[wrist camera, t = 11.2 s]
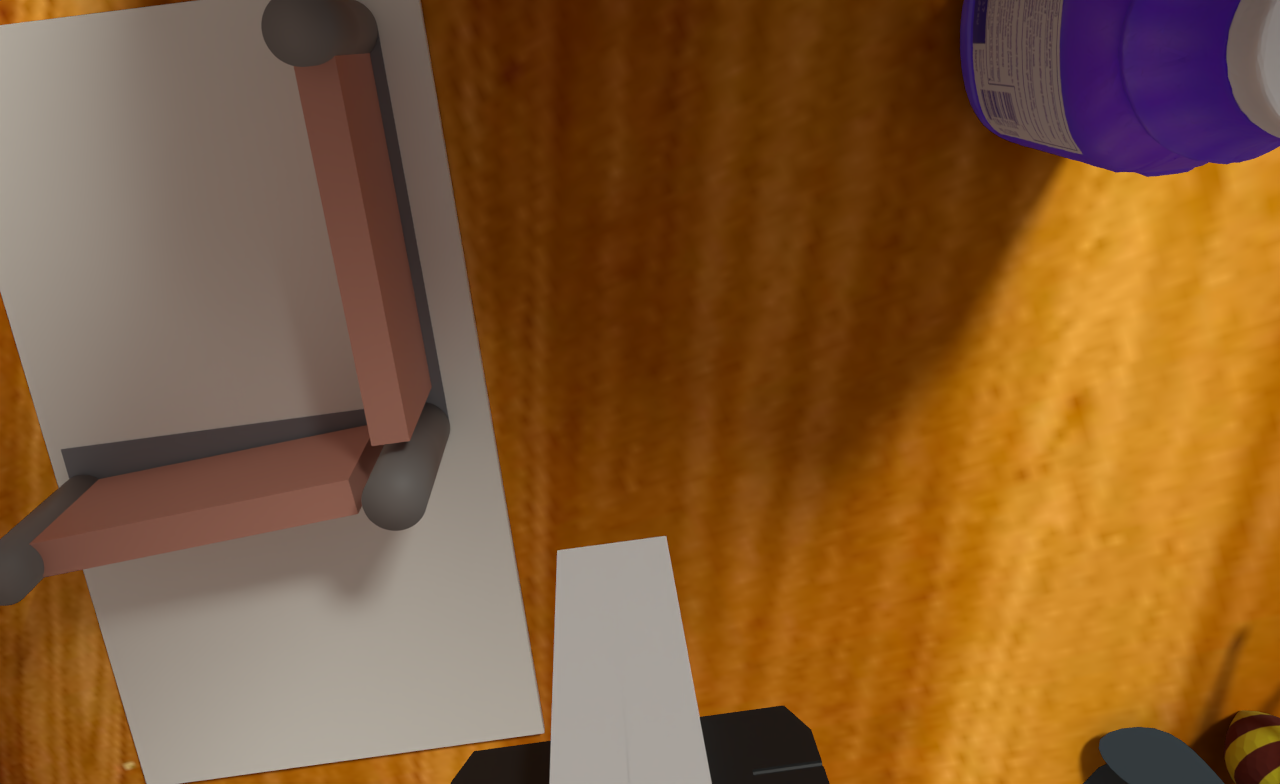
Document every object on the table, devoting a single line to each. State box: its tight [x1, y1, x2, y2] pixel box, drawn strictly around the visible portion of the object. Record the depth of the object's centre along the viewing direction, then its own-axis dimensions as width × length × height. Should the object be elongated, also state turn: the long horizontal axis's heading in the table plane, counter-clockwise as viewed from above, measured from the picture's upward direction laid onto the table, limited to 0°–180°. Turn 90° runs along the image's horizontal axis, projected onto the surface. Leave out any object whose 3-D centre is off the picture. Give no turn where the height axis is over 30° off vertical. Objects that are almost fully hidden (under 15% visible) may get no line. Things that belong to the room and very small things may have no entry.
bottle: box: [960, 0, 1280, 177], centre depth 31 cm, size 7×6×17 cm
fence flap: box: [0, 425, 384, 605], centre depth 39 cm, size 12×2×7 cm, turn 101°
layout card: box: [0, 0, 544, 784], centre depth 42 cm, size 29×16×1 cm, turn 7°
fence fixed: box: [261, 0, 450, 531], centre depth 37 cm, size 16×2×7 cm, turn 7°
